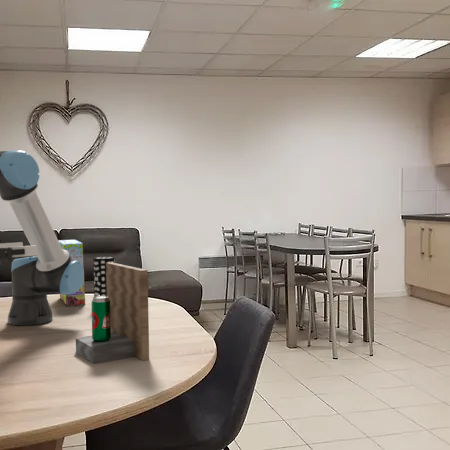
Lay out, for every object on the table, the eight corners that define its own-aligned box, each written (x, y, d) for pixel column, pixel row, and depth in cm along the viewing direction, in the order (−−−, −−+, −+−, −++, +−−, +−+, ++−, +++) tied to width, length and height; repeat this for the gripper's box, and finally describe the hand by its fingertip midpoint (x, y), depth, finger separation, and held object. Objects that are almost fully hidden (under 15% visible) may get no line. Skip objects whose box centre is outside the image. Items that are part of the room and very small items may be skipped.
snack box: (57, 298, 249) (56, 240, 248) (78, 296, 253) (76, 239, 252) (64, 306, 230) (62, 243, 228) (86, 304, 233) (84, 242, 232)
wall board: (70, 348, 164) (68, 265, 163) (113, 341, 172) (112, 262, 171) (101, 368, 144) (99, 274, 143) (149, 359, 152) (147, 270, 151)
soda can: (106, 342, 154) (105, 299, 153) (89, 342, 155) (88, 298, 154) (113, 338, 159) (113, 295, 158) (96, 337, 160) (96, 295, 159)
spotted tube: (96, 306, 230) (94, 257, 229) (116, 305, 230) (115, 256, 229) (93, 310, 221) (91, 259, 220) (114, 309, 222) (113, 258, 221)
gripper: (-62, 264, 157) (17, 258, 169) (-46, 274, 136) (43, 266, 148) (-63, 237, 156) (16, 232, 168) (-48, 242, 136) (42, 237, 148)
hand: (29, 248), depth 158 cm, fingers open, 13 cm apart
